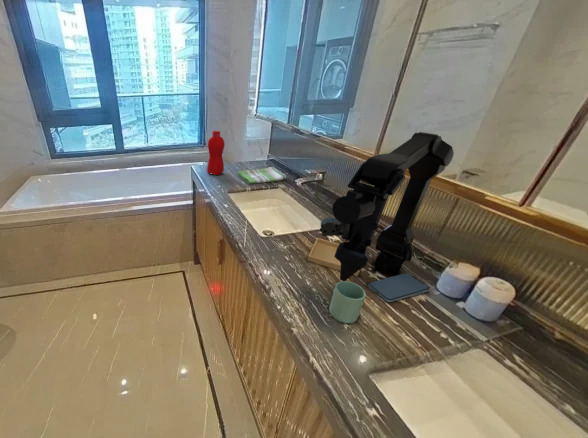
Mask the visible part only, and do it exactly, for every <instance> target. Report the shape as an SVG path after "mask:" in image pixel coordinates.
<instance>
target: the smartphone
mask: <svg viewBox="0 0 588 438" xmlns="http://www.w3.org/2000/svg"><path fill="white" fill-rule="evenodd" d="M367 287H368V288H369V289H370V290H371V291H373V292H374V293H375V294H376V295H377V296H378V297H380V298H381V299H382V300H383V301H384V302H387V303H392V302H396V301H400V300H403V299H406V298H410V297H413V296H416V295H420V294H424V293H427V292H429V291H430V286H428V285H427V284H426V283H425V282H423V281H421V280H420V279H418V278H417V277H416V276H414V275H413V274H411V273H408V272H404V273H401V274H400V273H399V275H397V276H389V277H386V278H381V279H378V280H374V281H371V282H369V283H368V286H367Z"/></svg>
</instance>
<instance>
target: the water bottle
mask: <svg viewBox="0 0 588 438" xmlns="http://www.w3.org/2000/svg"><path fill="white" fill-rule="evenodd" d="M211 135H212V136H211V137H210V138H209V139H208V141H207V146H206V147H207V150H208V154H209V155H208V157H209V158H208V162H207V166H206V167H207V169H206V172H207V174H208V175H213V176H220V175H221V176H222V174H223V173H224V172H225V171H224V170H225V169H224V168H225V164H224V159H223V153H224V149H225V140H224V137H222V136H221V131H219V130H212V134H211ZM222 172H223V173H222ZM210 173H212V174H210ZM220 173H221V174H220Z"/></svg>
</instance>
